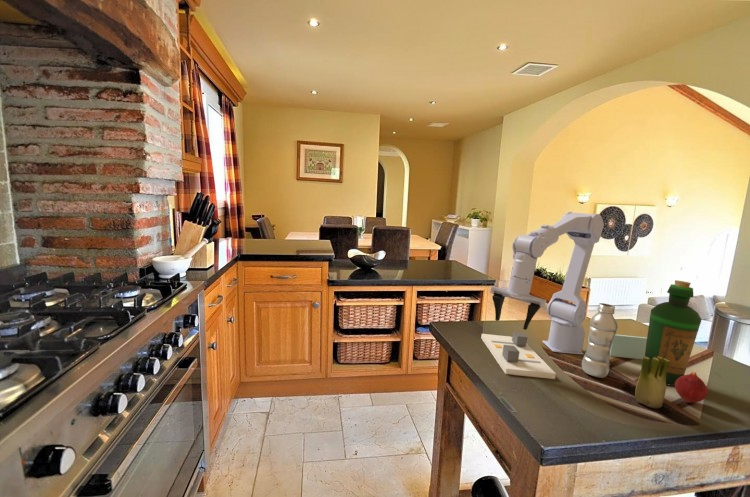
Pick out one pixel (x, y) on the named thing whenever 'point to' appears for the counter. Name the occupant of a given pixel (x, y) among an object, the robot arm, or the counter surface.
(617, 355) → the l-shaped corner panel
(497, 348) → the switch console
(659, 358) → the fennel bulb
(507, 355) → the switch
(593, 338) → the plastic bottle
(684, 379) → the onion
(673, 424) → the counter surface
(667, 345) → the bottle
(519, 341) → the switch
